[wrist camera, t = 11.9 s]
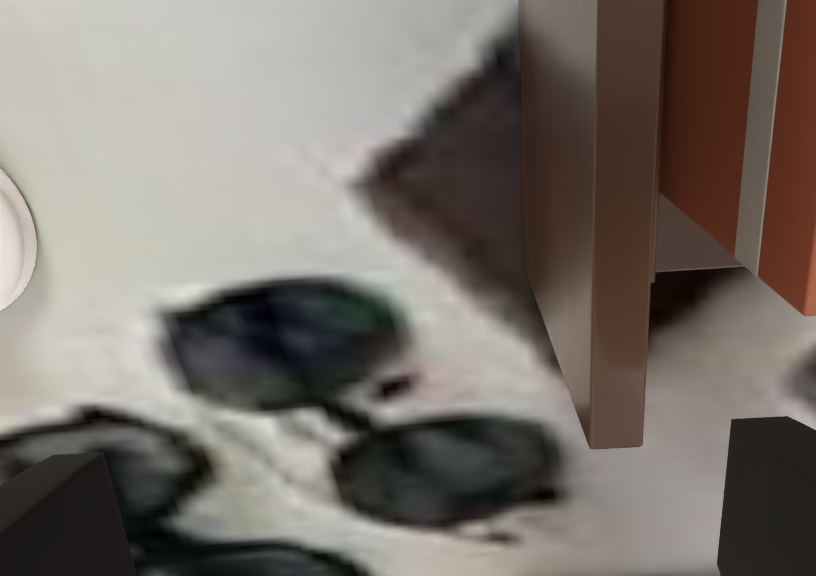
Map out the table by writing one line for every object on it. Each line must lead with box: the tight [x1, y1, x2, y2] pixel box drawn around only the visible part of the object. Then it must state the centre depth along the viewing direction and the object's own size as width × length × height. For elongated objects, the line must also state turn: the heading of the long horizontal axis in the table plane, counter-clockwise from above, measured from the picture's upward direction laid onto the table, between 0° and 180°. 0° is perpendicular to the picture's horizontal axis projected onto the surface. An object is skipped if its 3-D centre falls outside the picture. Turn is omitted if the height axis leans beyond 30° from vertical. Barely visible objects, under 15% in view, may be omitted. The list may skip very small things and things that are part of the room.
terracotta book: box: [659, 0, 816, 316], centre depth 12 cm, size 6×3×7 cm, turn 4°
